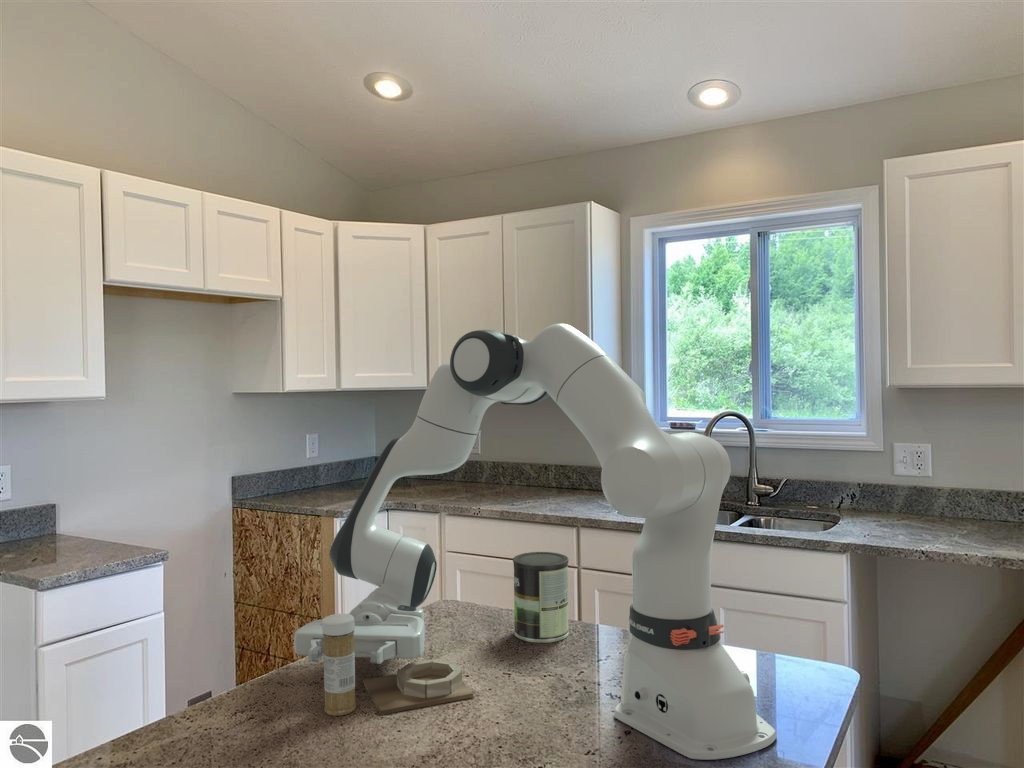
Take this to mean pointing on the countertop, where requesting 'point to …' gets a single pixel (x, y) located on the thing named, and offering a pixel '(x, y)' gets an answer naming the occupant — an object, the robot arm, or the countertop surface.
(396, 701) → the socket board
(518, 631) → the coffee can
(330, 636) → the sprinkles bottle
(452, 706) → the countertop surface
